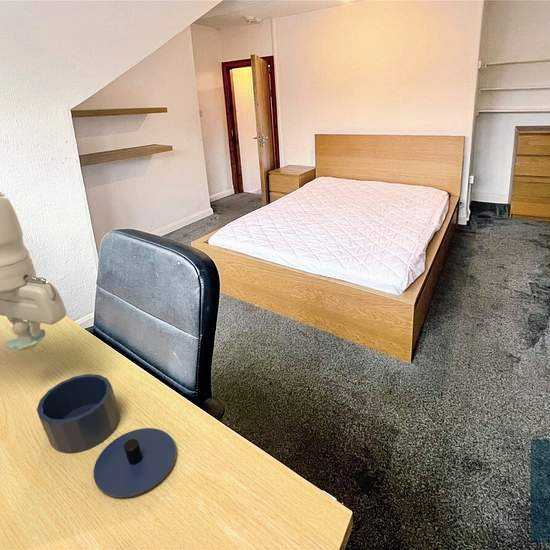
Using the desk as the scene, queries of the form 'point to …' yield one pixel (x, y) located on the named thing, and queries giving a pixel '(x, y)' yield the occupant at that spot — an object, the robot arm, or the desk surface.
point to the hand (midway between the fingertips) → (29, 333)
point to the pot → (79, 413)
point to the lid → (134, 462)
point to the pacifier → (23, 337)
